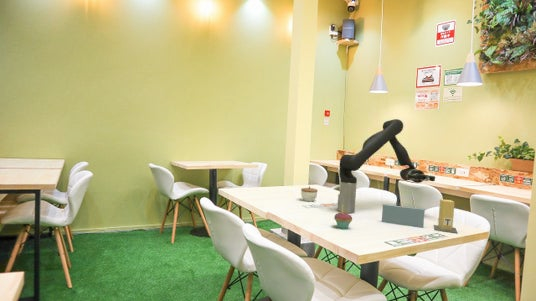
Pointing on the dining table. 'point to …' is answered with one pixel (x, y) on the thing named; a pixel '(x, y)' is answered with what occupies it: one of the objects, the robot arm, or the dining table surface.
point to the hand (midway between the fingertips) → (424, 178)
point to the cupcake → (343, 219)
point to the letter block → (446, 214)
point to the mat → (445, 230)
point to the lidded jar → (309, 194)
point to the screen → (403, 215)
